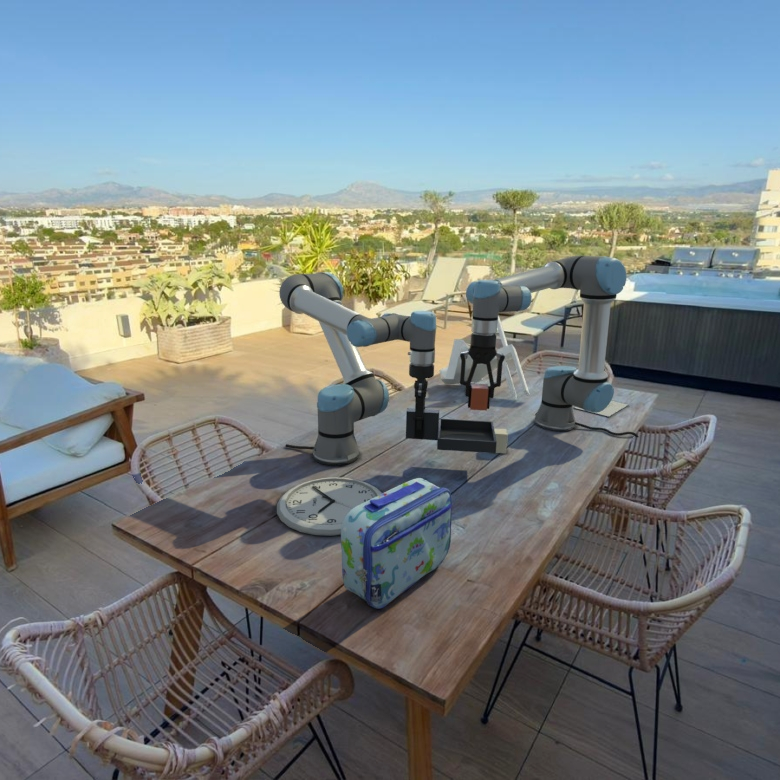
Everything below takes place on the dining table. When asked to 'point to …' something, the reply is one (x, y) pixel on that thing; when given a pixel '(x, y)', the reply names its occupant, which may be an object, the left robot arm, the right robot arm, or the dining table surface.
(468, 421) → the tray
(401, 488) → the lunch box
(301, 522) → the wall clock
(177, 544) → the dining table surface
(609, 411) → the invitation card
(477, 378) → the white plastic object
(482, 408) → the terracotta block
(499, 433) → the cream block
